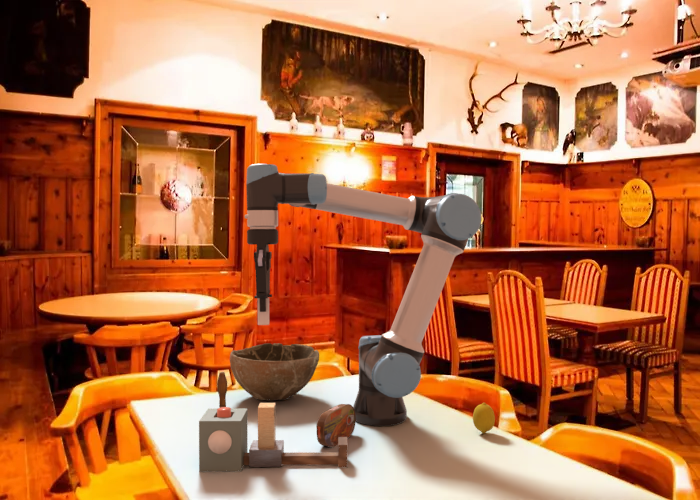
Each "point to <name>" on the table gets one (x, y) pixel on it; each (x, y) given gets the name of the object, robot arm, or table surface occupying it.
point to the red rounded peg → (224, 412)
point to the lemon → (483, 418)
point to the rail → (315, 457)
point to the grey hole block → (222, 441)
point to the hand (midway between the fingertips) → (263, 324)
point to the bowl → (274, 369)
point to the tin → (335, 424)
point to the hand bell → (222, 389)
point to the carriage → (266, 439)
